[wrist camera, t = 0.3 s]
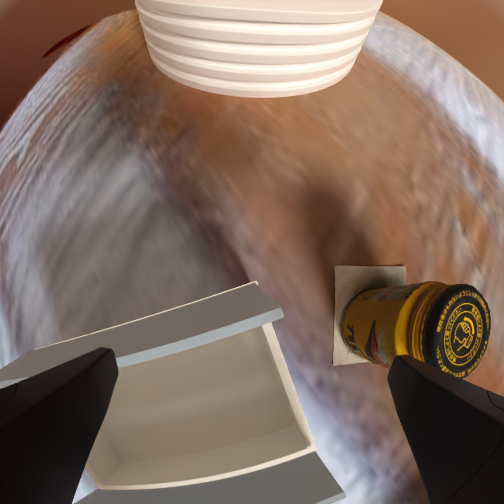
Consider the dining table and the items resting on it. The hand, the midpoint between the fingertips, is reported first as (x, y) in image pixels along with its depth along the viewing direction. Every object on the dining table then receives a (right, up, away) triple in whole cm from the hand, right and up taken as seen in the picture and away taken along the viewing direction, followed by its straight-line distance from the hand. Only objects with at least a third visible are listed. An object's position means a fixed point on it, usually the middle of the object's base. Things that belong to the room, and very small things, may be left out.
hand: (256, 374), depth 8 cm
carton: (-6, -8, +13) cm, 16 cm away
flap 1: (-8, -1, +5) cm, 9 cm away
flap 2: (-4, -11, +3) cm, 12 cm away
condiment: (+10, -2, +15) cm, 18 cm away
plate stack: (0, +33, +21) cm, 39 cm away
